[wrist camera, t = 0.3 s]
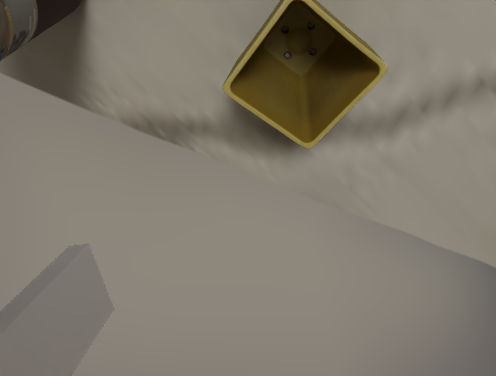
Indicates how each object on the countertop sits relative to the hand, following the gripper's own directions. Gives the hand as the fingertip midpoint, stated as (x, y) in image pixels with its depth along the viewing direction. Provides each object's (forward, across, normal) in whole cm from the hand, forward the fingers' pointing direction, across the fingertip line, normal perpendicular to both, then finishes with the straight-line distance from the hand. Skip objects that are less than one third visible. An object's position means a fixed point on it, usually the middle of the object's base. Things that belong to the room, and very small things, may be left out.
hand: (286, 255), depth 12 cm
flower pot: (+27, +2, +6) cm, 28 cm away
